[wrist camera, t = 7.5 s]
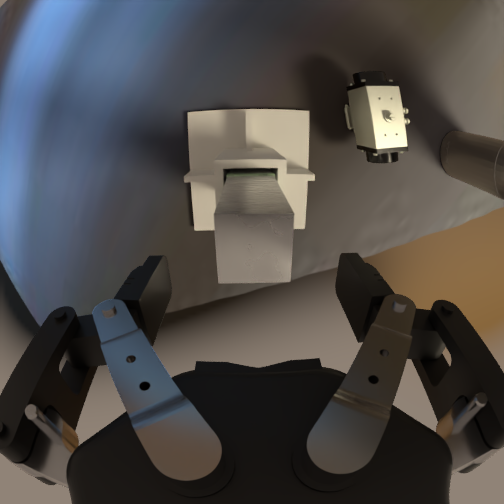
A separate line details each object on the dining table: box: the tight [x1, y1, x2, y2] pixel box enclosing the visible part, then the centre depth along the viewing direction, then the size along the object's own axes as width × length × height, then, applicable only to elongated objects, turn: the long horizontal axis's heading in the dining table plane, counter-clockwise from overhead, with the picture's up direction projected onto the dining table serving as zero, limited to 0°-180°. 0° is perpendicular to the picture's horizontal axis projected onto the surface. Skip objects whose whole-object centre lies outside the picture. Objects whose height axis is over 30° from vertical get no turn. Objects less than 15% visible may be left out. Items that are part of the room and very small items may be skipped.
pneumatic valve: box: [344, 71, 410, 163], centre depth 30 cm, size 6×12×12 cm, turn 12°
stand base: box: [184, 109, 315, 231], centre depth 32 cm, size 17×18×16 cm
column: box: [214, 168, 294, 283], centre depth 23 cm, size 4×4×20 cm
